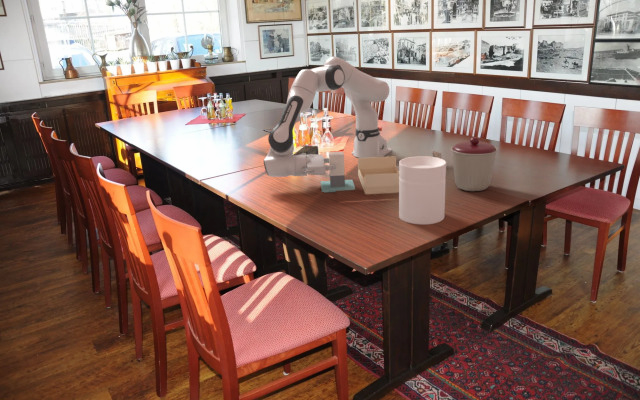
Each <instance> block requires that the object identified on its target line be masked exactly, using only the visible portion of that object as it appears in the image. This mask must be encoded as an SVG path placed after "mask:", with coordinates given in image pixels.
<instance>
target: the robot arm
mask: <svg viewBox="0 0 640 400" xmlns="http://www.w3.org/2000/svg"><path fill="white" fill-rule="evenodd" d="M341 88H343V91H344V92H343V93H344V94H345V96H346V98H348V99H349V101H350V102H351V105H352V107H353V110H354V113H355V131H354V132H355V137H354V140H353V151H351V154H352V155H353V157H355V158H357V159H358V158H371V157H386V155H388V154H389V153H391V152H392V148H390V147H388V143H387V142H388V141H387V140H386V139H385V138H384V137H383V136H382V135H381V132H382V131H383V127H382V126H381V127H380V126H379V121H378V119H379V118H378V117H379V116H378V115H379V114H378V112H377V110H376V109H375V108H374V107H373V106H372V104H371V103H379V102H384V101H387V99H388V97H389V95H390V87H389V84H388V82H386V81H384V80H381V79H378V78H376V77H374V76H372V75H370V74H367V73H365V72H363V71H361V70H360V69H358V68H356V67H355V66H354V65H352V64H351V63H349V62H348V61H346V60H345V59H343V58H341V57H338V56H330V57H329V58H327V59H326V60H325V62H324V64H323V66H318V67H314V68H305V69H301V70H300V71H299V72H298V73H297V75H296V77H295V78H294V80H293V82H292V85H291V87H290V90H289V93H288V96H287V98H286V99H287V100H286V105H285V107H284V110H283V112H282V114H281V117H280V120H279V121H278V123H277V124H276V125H275V126H274V127H273V128H272V130H271V131H270V132H269V134H268V137H267V139H268V143H269V146H270V148H269V151H268V152H267V155H266V156H265V158H263V166H264V169H265V173H266V175H267V176H269V177H274V178H282V177H283V178H286V177H292V176H293V177H303V176H305V177H306V176H308V175H309V176H323V175H325V174H326V171H327V172H328V171H329V172H330V170H332V169H336V164H332V165H329V157H324V155H323V154H319V153H318V154H308V155H306V153H302V154H300V155H293V154H294V150H295V145H294V134H293V133H294V132H293V131H294V128H295V125H296V123H297V120H298V118H299V115H301V114H303V113H306V112H308V111H309V109H310V108H311V106H312V104H313V102H314V100H315V96H316V95H317V94H316V93H317V92H321V93H322V92H329V91H336V90H338V89H341Z"/></svg>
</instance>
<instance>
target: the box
mask: <svg viewBox="0 0 640 400" xmlns="http://www.w3.org/2000/svg"><path fill="white" fill-rule="evenodd" d="M328 158H329V163H328V165H332V164H336V169H332V170H329V181H330V185H331V187H345V180H346V175H345V174H346V173H345V154H344V151H331V152H328Z"/></svg>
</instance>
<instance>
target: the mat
mask: <svg viewBox="0 0 640 400" xmlns="http://www.w3.org/2000/svg"><path fill="white" fill-rule="evenodd" d="M320 186H321V193H322V192H324V193H336V192H337V191H339V192H340V191H354V190H355V191H356V187H355V184H354V180H353V179H345V187H331V185H330V180H320Z"/></svg>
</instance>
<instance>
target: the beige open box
mask: <svg viewBox="0 0 640 400" xmlns="http://www.w3.org/2000/svg"><path fill="white" fill-rule="evenodd" d="M357 173H358V174H357V175H358V178H359V181H360V184H361V187H362V188H363V192H364V194H365V195H377V194H378V195H380V194H399V168H397V156H396V155H394V156H393V155H392V156H384V157H371V158H358V157H357Z"/></svg>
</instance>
